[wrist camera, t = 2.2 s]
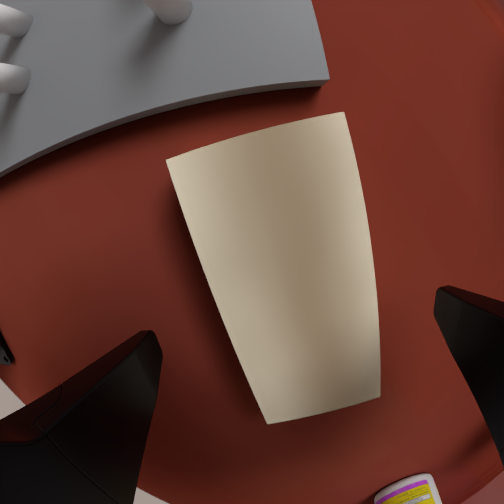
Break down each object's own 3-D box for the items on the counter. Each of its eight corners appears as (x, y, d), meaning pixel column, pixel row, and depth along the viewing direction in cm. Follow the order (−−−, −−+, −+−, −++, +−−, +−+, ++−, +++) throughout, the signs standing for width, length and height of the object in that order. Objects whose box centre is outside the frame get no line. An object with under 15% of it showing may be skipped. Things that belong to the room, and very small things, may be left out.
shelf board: (266, 378, 14) (267, 424, 11) (189, 155, 10) (165, 159, 8) (362, 354, 13) (380, 396, 11) (320, 120, 10) (343, 111, 7)
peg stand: (-9, 182, 10) (-67, 201, 6) (-12, 25, 7) (-59, 16, 3) (321, 86, 9) (359, 53, 5) (272, -89, 6) (275, -144, 2)
